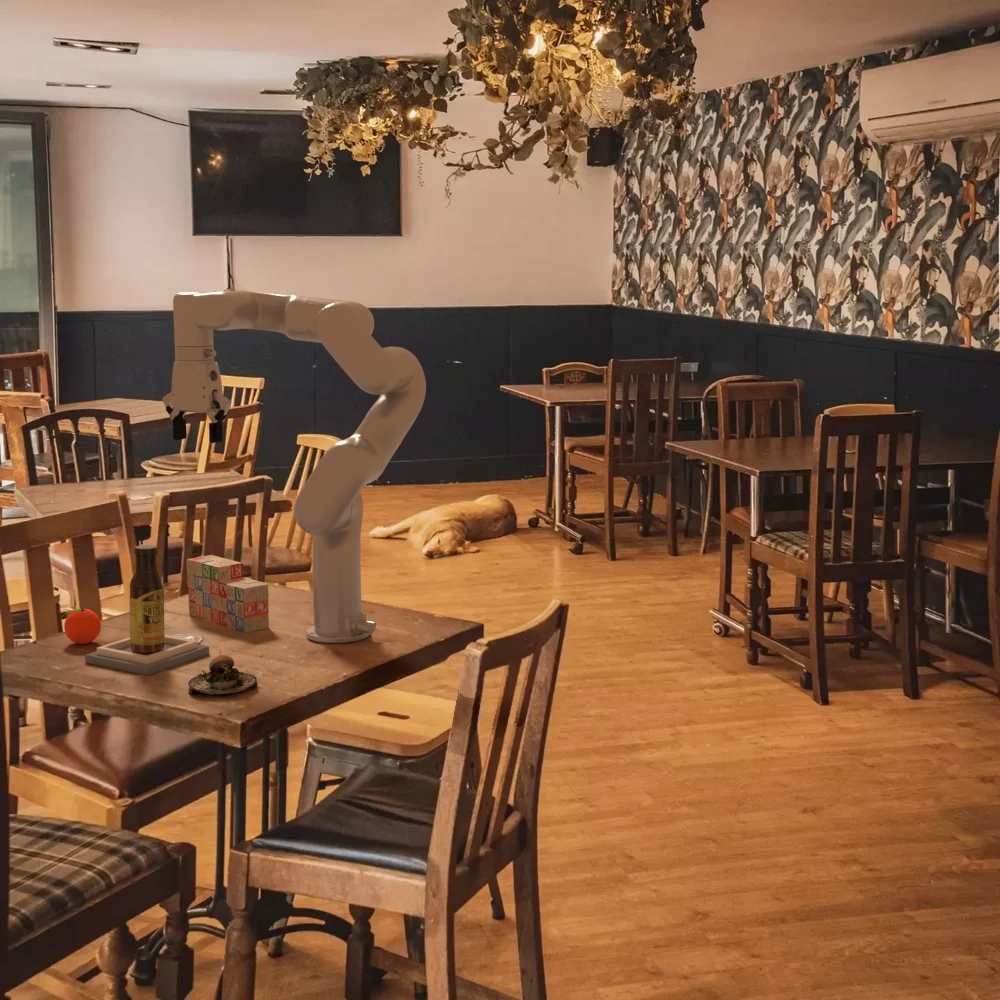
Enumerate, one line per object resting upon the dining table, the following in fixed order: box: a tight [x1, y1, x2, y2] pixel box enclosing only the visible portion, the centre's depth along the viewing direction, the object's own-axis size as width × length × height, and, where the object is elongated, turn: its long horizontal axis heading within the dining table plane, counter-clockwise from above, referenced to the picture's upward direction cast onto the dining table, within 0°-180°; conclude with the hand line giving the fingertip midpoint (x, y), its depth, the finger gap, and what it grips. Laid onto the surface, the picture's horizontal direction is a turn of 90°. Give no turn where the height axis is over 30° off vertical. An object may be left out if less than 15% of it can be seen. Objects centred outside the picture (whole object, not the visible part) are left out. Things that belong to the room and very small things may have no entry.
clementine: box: [60, 607, 102, 645], centre depth 266 cm, size 8×7×7 cm
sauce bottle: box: [129, 544, 166, 654], centre depth 254 cm, size 7×6×20 cm
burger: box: [187, 651, 258, 696], centre depth 237 cm, size 12×12×8 cm
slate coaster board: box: [84, 634, 210, 676], centre depth 256 cm, size 16×16×3 cm
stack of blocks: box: [185, 554, 270, 633], centre depth 282 cm, size 21×6×12 cm, turn 44°
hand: (197, 440), depth 273 cm, fingers open, 9 cm apart
